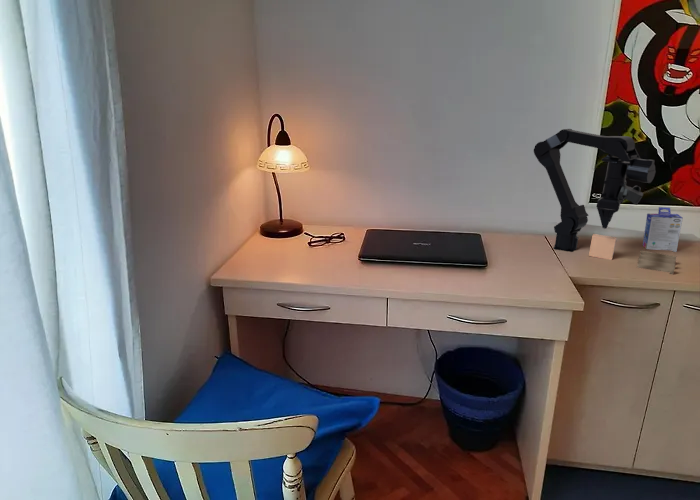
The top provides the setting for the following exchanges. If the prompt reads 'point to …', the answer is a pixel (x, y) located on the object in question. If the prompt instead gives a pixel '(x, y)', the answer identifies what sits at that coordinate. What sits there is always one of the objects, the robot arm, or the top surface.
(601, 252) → the terracotta block
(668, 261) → the slot rack
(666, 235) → the ink cartridge box
